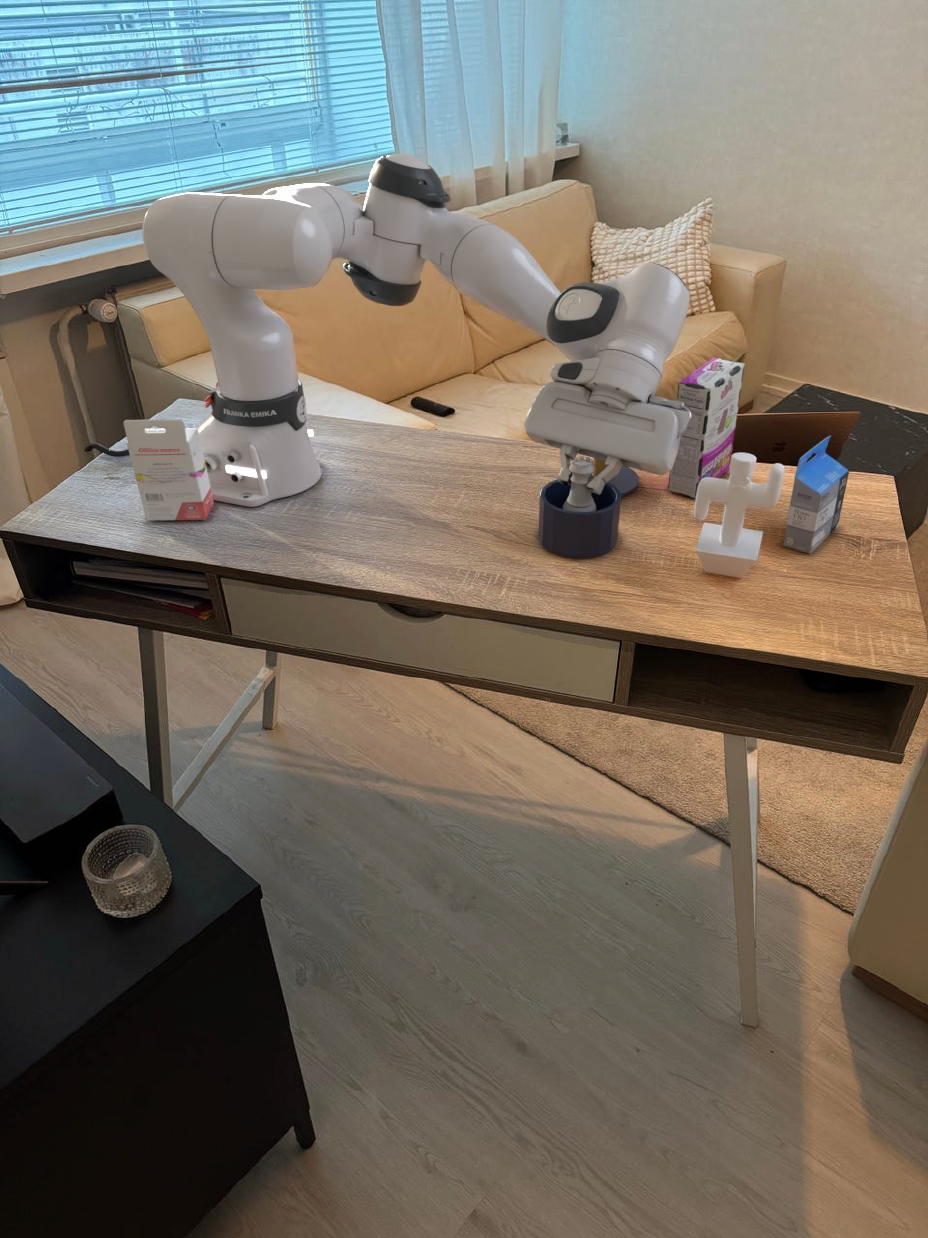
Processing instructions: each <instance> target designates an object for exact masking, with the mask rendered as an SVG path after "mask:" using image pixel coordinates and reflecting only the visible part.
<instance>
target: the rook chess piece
mask: <svg viewBox="0 0 928 1238" xmlns="http://www.w3.org/2000/svg"><path fill="white" fill-rule="evenodd" d="M569 469H570V471H571V472H572V476H571V477H570V479H571V481H572V484H571V490H570V494H569V497H568V498H567V500H566V501H565V503H564V505H563V509H564V510H567V511H575V512H591V511H596V505H595V503H594V500H593V498H592V496H591V492H589V490H587V484H588V483H589V482H590V480H589V479H590V477H591V474H592V472H593V471H594V470H595V466H594V465H593V459H591V457H589V456H586V457H585V459H584V455H581V456H580V455H579V459H578V457H577V456H576V457H575V458H574V460H571V463H570V466H569Z"/></svg>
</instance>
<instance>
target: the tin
mask: <svg viewBox="0 0 928 1238" xmlns="http://www.w3.org/2000/svg"><path fill="white" fill-rule="evenodd" d="M570 490H571V486H568V485H564V484H561V483H560V482H559V481H558V478H557V479H555V480H552V481H549V482H547V484H545V485H544V486H543V487H541V489H540V493H539V503H538V505H539V508H538V509H539V510H538V538H539V539H538V540H539V543H540V545H541V546H542V547H543V549H545V550H546V551H548V552H549V553H551V554H553V555H555V556H559V557H562V558H566V559H573V560H574V559H575V560H586V559H587V560H588V559H595V558H599V557H601V556H604V555H607V554H609V553H610V552H611V551H613V550H614V549H615V548H616V546H617V543H618V536H619V527H620V526H619V525H620V515H621V502H622V496H621V493H620V492H619V490H618V489H617V488H616V487H615V486H614V485H612V484H610V483H608V482H607V483H605V485H604V488H603V490H602V493H601V494H596V493H593V492H591V496H592V498H593V500H594V503H595V505H596V511H591V512H575V511H567V510H564V509H563V505H564V503H565V501H566V500H567V498H568V497H569V494H570Z"/></svg>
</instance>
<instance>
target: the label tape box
mask: <svg viewBox="0 0 928 1238" xmlns="http://www.w3.org/2000/svg"><path fill="white" fill-rule="evenodd" d="M831 437H832V435H829V436H828V435H827V437H825V438H823V439H822V440H821V441H819V442H818V443H817V444H816V445H815V446H813V447H812V448H811V449H809V450H808V451H807V452H805V453H804V454H803V455H802V456H801V457H800V458H799V459H798V463H797V466H796V471H795V474H794V480H793V486H792V491H791V496H790V503H789V509H788V515H787V521H786V527H785V534H784V539H783V546H784V547H787V548H790V549H793V550H796V551H798V552H802V553H806V554H808V555H809V554H812V553H813V552H814V551H816V549H817V548H818V547H819V546H820V545H821V544H822V543H823V542H824V541H825V540H826V539H827V538H828V537H829V536H830V535H831V534H832V533H833V532H834V531H835V530H836V529H837V528H838V527H839V523H840V517H841V514H842V508H843V503H844V499H845V494H846V489H847V483H848V479H849V474H850V470H849V469H848V468H846V467H845V466H843V465H842V464H841V463H840V462H838V461H837V460H835V459H834V458H833V457H831V456H830V455H829V454H828V453H826V451H827V447H828V445H829V441H830V439H831ZM813 454H814V456H813ZM812 456H813V457H812ZM811 457H812V458H811ZM810 458H811V459H810Z"/></svg>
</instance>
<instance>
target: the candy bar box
mask: <svg viewBox="0 0 928 1238" xmlns="http://www.w3.org/2000/svg"><path fill="white" fill-rule="evenodd" d="M745 366H746V363H743V362H739V361H733V360H729V359H723V358H720V357H713V358H712V359H709V360H708V361H706V363H704V364H703V365H701V366H700V367H698V368H697V369H695V370H694V371H693V372H691V373H690V374H689V375H687V376H686V377H684V378H683V379H681V380H680V381H679V382H677V383H678V385H677V393H676V394H677V395H676V396H677V397H676V401H680V402H683V403H684V404H685V406H686V407H687V408H688V409H689V410H690V412H691V421H690V423H689V426H688V428H687V430H686V432H685V433H684V434H683V435H682V436H681V439H680V444H679V448H678V452H677V455H676V459H675V462H674V464H673V467H672V469H671V471H669V472H668V473H669V474H668V485H667V491H668V492H671V493H673V494H676V495H680V496H684V497H688V498H692V499H695V500H696V494H697V488H698V485H699V482H700V481H701V480H702V479H703V478H705V477H711V478H719V479H722V478H723V477H724V476H725V475H726V474H727V473H728V472H729V471H730V469H729V467H730V461H731V456H732V454H733V448H734V440H735V434H736V428H737V419H738V413H739V406H740V399H741V392H742V385H743V379H744V370H745ZM683 411H686V410H684V409H683Z"/></svg>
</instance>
